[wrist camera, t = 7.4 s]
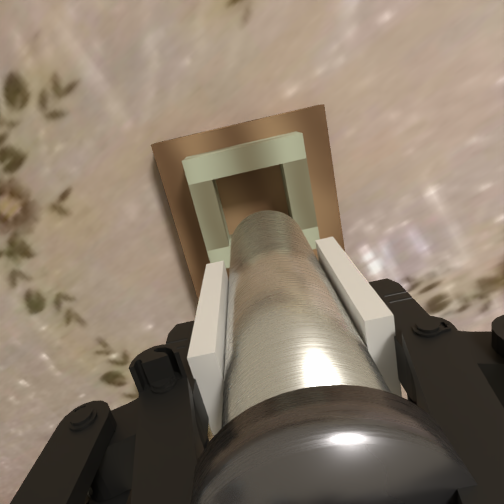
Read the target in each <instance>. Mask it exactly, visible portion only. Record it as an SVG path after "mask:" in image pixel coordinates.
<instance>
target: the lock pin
mask: <svg viewBox="0 0 504 504" xmlns="http://www.w3.org/2000/svg"><path fill="white" fill-rule="evenodd" d="M474 485H478V484H477V483H476V481H475V480H474V478H473V477H472V475H471V474H470V472H469V470H468V469H467V467H466V466H465V464H464V463H463V461H462V460H461V458H460V457H459V455H458V453H457V452H456V450H455V449H454V447H453V446H452V444H451V443H450V441H449V440H448V438H447V436H446V435H445V433H444V432H443V430H442V429H441V427H440V426H439V424H438V423H437V421H436V420H435V419H434V418H433V417H432V416H431V415H429V414H428V413H427V412H426V411H425V410H423V409H422V408H420V407H419V406H417V405H416V404H414V403H413V402H411V401H409V400H407V399H404V398H402V397H400V396H398V395H396V394H393V393H391V391H390V389H389V388H388V386H387V384H386V382H385V380H384V378H383V377H382V375H381V373H380V371H379V369H378V368H377V366H376V364H375V362H374V360H373V359H372V357H371V355H370V353H369V351H368V349H367V348H366V346H365V344H364V342H363V340H362V339H361V337H360V335H359V333H358V331H357V330H356V328H355V326H354V324H353V322H352V320H351V319H350V317H349V315H348V313H347V311H346V310H345V308H344V306H343V304H342V302H341V301H340V299H339V297H338V295H337V293H336V291H335V290H334V288H333V286H332V284H331V282H330V281H329V279H328V277H327V275H326V273H325V272H324V270H323V268H322V266H321V264H320V262H319V261H318V259H317V257H316V255H315V253H314V252H313V250H312V248H311V246H310V244H309V243H308V241H307V239H306V237H305V235H304V233H303V232H302V230H301V228H300V226H299V225H298V224H297V222H296V221H295V220H294V219H292V218H291V217H290V216H288V215H286V214H284V213H282V212H278V211H272V210H265V211H259V212H256V213H253V214H251V215H249V216H248V217H246V218H245V219H244V220H242V221H241V222H240V223H239V225H238V226H237V227H236V229H235V231H234V233H233V236H232V239H231V249H230V269H229V288H228V308H227V327H226V347H225V367H224V386H223V406H222V425H221V429H220V430H219V432H218V433H217V434H216V435H215V436H214V437H213V438H212V439H211V441H210V442H209V443H208V445H207V446H206V448H205V449H204V451H203V452H202V454H201V456H200V458H199V460H198V463H197V465H196V467H195V472H194V480H193V489H192V497H191V504H458V498H457V489H458V488H464V487H469V486H474Z"/></svg>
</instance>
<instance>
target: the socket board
mask: <svg viewBox="0 0 504 504" xmlns="http://www.w3.org/2000/svg"><path fill="white" fill-rule="evenodd" d="M151 147H152V150H153V153H154V157H155V160H156V163H157V167H158V170H159V173H160V176H161V180H162V183H163V186H164V190H165V193H166V196H167V199H168V203H169V206H170V209H171V213H172V216H173V219H174V222H175V226H176V229H177V232H178V236H179V239H180V242H181V245H182V249H183V252H184V255H185V259H186V262H187V265H188V268H189V272H190V275H191V278H192V282H193V285H194V288H195V292H196V295H197V298H198V301H199V297H200V292H201V288H202V283H203V278H204V273H205V268H206V264H210V263H214V262H219V261H223V260H224V264H225V268H226V271H227V275H228V279H229V269H230V249H231V239H232V236H233V233H234V231H235V229H236V227H237V226H238V225H239V223H240V222H241V221H242V220H244V219H245V218H246V217H248V216H249V215H251V214H253V213H256V212H259V211H265V210H272V211H278V212H282V213H284V214H286V215H288V216H290V217H291V218H292V219H294V220H295V221H296V222H297V224H298V225H299V226H300V228H301V230H302V232H303V233H304V235H305V237H306V239H307V241H308V243H309V244H310V246H311V248H312V250H313V252H314V253H315V255H316V257H317V259H318V255H317V249H316V243H315V240H319V239H324V238H328V237H334V239H335V240H336V241H337V243H338V244H339V245H340V246H341V248H342V249H343V250H344V252H345V249H344V242H343V235H342V228H341V221H340V213H339V206H338V199H337V192H336V185H335V178H334V171H333V164H332V157H331V150H330V143H329V136H328V128H327V121H326V114H325V107H324V104H323V105H316V106H312V107H308V108H304V109H299V110H295V111H291V112H286V113H282V114H278V115H274V116H269V117H265V118H261V119H257V120H252V121H248V122H244V123H239V124H235V125H231V126H227V127H222V128H218V129H214V130H209V131H205V132H201V133H197V134H192V135H188V136H184V137H180V138H175V139H171V140H167V141H162V142H158V143H155V144H152V145H151ZM318 261H319V260H318Z"/></svg>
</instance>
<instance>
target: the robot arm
mask: <svg viewBox="0 0 504 504" xmlns="http://www.w3.org/2000/svg"><path fill="white" fill-rule="evenodd" d="M315 243H316V249H317V255H318V260H319V262H320V264H321V266H322V268H323V270H324V272H325V273H326V275H327V277H328V279H329V281H330V282H331V284H332V286H333V288H334V290H335V291H336V293H337V295H338V297H339V299H340V301H341V302H342V304H343V306H344V308H345V310H346V311H347V313H348V315H349V317H350V319H351V320H352V322H353V324H354V326H355V328H356V330H357V331H358V333H359V335H360V337H361V339H362V340H363V342H364V344H365V346H366V348H367V349H368V351H369V353H370V355H371V357H372V359H373V360H374V362H375V364H376V366H377V368H378V369H379V371H380V373H381V375H382V377H383V378H384V380H385V382H386V384H387V386H388V388H389V389H390V391H391V393H393V394H396V395H398V396H400V397H402V395H401V385H400V383H401V384H402V386H403V387H404V389H405V391H406V392H407V396H408V400H409V401H411V402H413V403H414V404H416V405H417V406H419V407H420V408H422V409H423V410H425V411H426V412H427V413H428V414H429V415H431V416H432V417H433V418H434V419H435V420H436V421H437V423H438V424H439V426H440V427H441V429H442V430H443V432H444V433H445V435H446V436H447V438H448V440H449V441H450V443H451V444H452V446H453V447H454V449H455V450H456V452H457V453H458V455H459V457H460V458H461V460H462V461H463V463H464V464H465V466H466V467H467V469H468V470H469V472H470V474H471V475H472V477H473V478H474V480H475V481H476V483H477V484H478V485H474V486H469V487H464V488H458V489H457V498H458V504H504V315H502V316H500V317H497V318H496V319H495V320H494V321H493V322H492V332H466V331H457V329H456V327H455V326H454V325H453V324H452V323H451V322H449V321H447V320H445V319H443V318H439V317H434V316H429V314H428V313H427V312H426V311H425V310H424V309H423V308H422V307H421V306H420V305H419V304H418V303H417V302H416V301H415V300H414V299H413V298H412V297H411V296H410V294H409V293H408V292H406V290H405V289H404V288H403V287H402V286H401V285H400V284H399V283H397V282H394V281H392V280H390V279H382V280H378V281H373V282H368V281H367V280H366V279H365V277H364V276H363V275H362V274H361V272H360V271H359V270H358V268H357V267H356V266H355V265H354V263H353V262H352V261H351V259H350V258H349V257H348V255H347V254H346V253H345V252H344V250H343V249H342V248H341V246H340V245H339V244H338V243H337V241H336V240H335V239H334V237H328V238H324V239H319V240H315ZM228 288H229V279H228V275H227V271H226V268H225V264H224V260H223V261H219V262H214V263H210V264H206V268H205V273H204V278H203V283H202V288H201V292H200V297H199V302H198V307H197V312H196V317H195V321H190V322H186V323H181V324H177V325H176V326H175V327H174V328H173V329H172V330H171V331H170V333H169V334H168V337H167V341H166V344H165V345H159V346H154V347H152V348H149V349H147V350H145V351H143V352H142V353H140V354H139V355H137V356H136V357H135V358H134V360H133V361H132V362H131V364H130V366H129V370H130V372H131V374H132V377H133V379H134V382H135V384H136V387H137V389H138V392H139V398H137V399H136V400H134V401H132V402H130V403H128V404H126V405H123V406H121V407H119V408H116V409H114V410H112V411H111V410H110V408H109V406H108V403H106V402H104V401H92V402H89V403H85V404H83V405H81V406H79V407H77V408H75V409H74V410H73V411H71V412H70V413H69V414H68V415H66V416H65V417H64V419H63V420H62V421H61V422H60V423H59V425H58V427H57V428H56V430H55V431H54V433H53V435H52V436H51V438H50V439H49V441H48V443H47V444H46V446H45V448H44V449H43V451H42V452H41V454H40V456H39V457H38V459H37V461H36V462H35V464H34V465H33V467H32V469H31V470H30V472H29V474H28V475H27V477H26V478H25V480H24V482H23V483H22V485H21V487H20V488H19V490H18V491H17V493H16V495H15V496H14V498H13V500H12V501H11V503H10V504H191V497H192V489H193V480H194V472H195V467H196V465H197V463H198V460H199V458H200V456H201V454H202V452H203V451H204V449H205V448H206V446H207V445H208V443H209V439H208V436H207V433H208V422H209V425H210V428H211V431H212V434H213V435H216V434H217V433H218V432H219V430H220V429H221V425H222V406H223V386H224V367H225V347H226V327H227V308H228Z"/></svg>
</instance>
